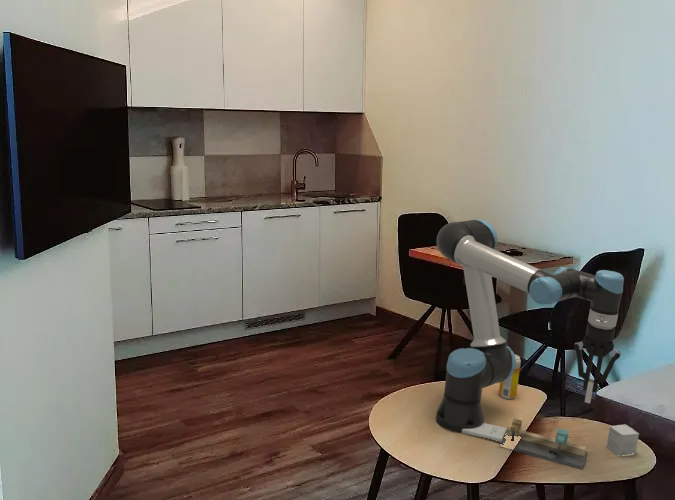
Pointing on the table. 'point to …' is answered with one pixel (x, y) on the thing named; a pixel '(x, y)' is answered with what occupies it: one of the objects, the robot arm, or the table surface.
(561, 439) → the block
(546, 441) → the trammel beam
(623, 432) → the product box
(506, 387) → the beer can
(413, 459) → the table surface
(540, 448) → the bolt plate
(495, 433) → the external hard drive
